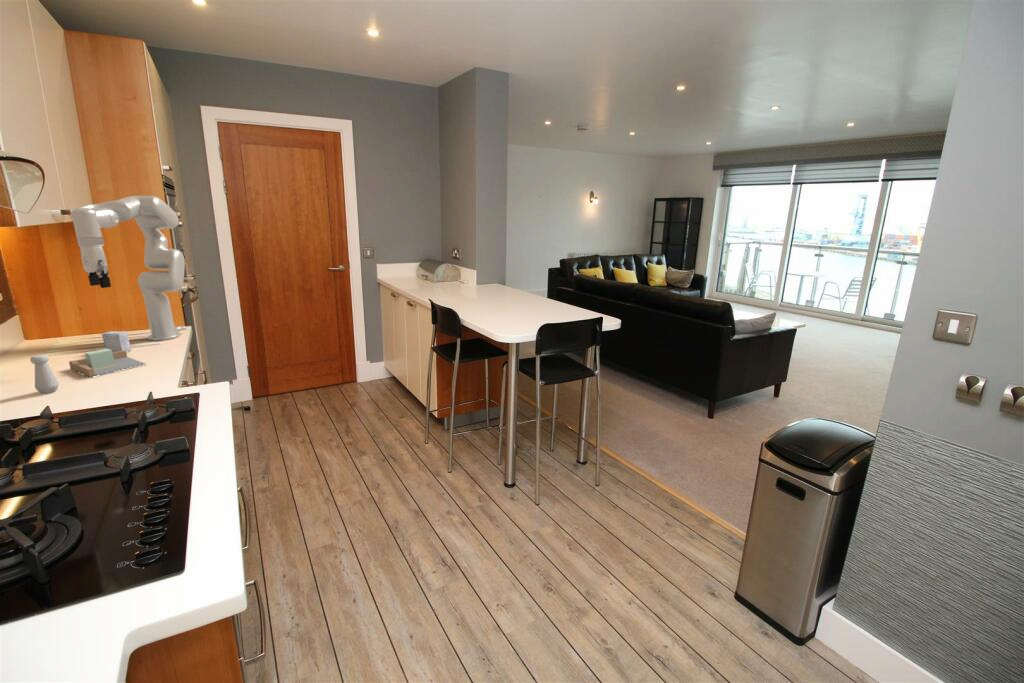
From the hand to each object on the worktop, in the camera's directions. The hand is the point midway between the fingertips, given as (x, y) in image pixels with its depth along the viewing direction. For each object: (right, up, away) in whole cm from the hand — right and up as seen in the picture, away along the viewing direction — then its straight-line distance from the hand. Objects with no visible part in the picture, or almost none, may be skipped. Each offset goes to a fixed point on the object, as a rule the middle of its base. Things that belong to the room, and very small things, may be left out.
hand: (100, 286), depth 191 cm
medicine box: (-8, -27, +18) cm, 33 cm away
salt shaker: (+5, -39, -26) cm, 47 cm away
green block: (+2, -31, -2) cm, 32 cm away
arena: (+4, -32, -1) cm, 32 cm away
